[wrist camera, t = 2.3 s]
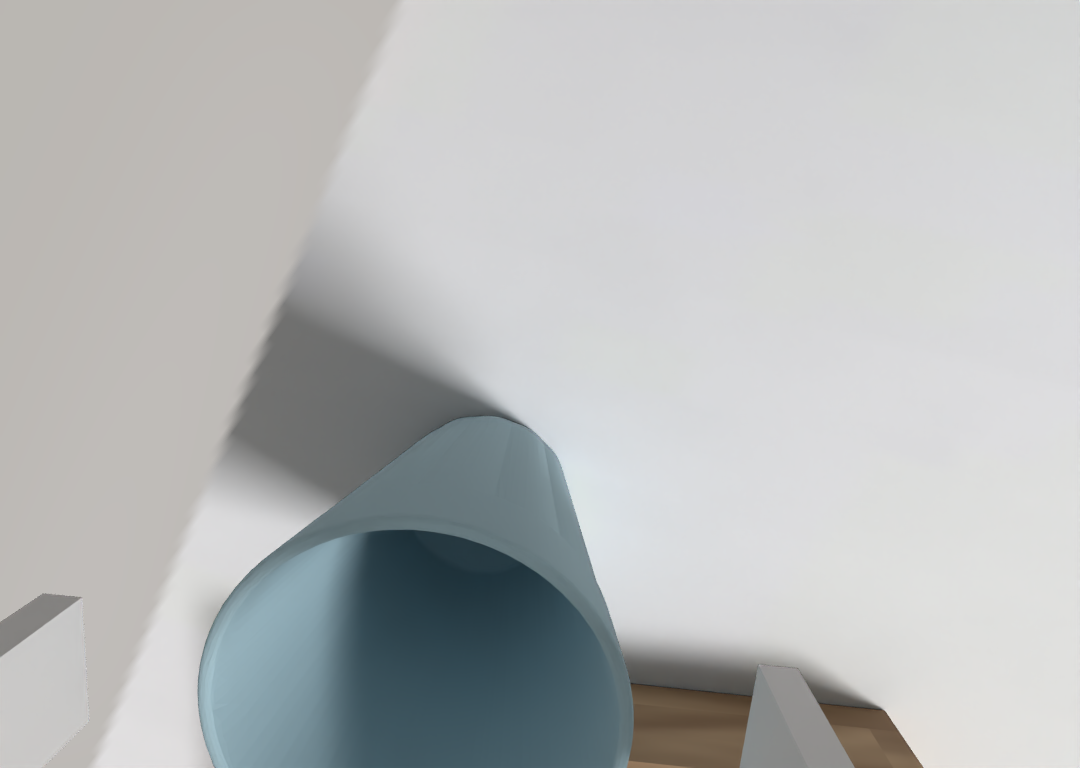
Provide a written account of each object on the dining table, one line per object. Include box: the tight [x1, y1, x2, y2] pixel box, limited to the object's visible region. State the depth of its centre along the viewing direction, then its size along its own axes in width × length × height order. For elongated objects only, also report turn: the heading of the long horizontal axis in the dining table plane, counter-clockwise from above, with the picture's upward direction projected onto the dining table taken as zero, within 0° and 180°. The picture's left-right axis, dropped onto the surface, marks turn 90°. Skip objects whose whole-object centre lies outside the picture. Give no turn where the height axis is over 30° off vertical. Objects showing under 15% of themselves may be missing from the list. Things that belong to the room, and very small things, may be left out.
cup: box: [198, 416, 634, 768], centre depth 16 cm, size 8×8×10 cm
